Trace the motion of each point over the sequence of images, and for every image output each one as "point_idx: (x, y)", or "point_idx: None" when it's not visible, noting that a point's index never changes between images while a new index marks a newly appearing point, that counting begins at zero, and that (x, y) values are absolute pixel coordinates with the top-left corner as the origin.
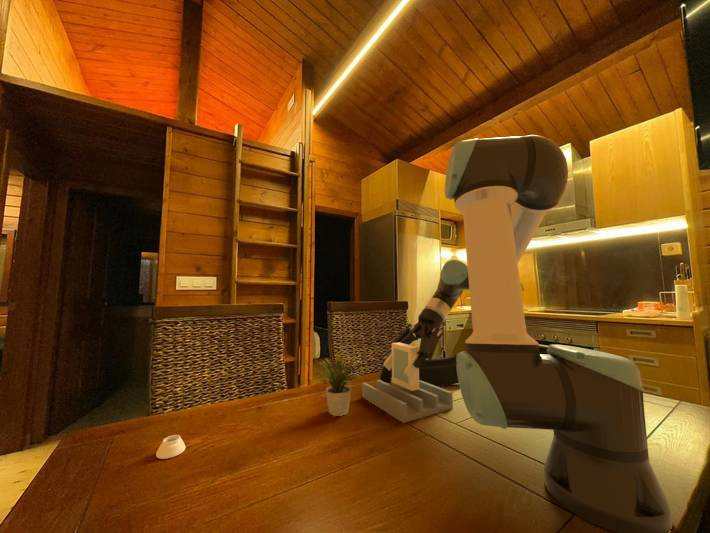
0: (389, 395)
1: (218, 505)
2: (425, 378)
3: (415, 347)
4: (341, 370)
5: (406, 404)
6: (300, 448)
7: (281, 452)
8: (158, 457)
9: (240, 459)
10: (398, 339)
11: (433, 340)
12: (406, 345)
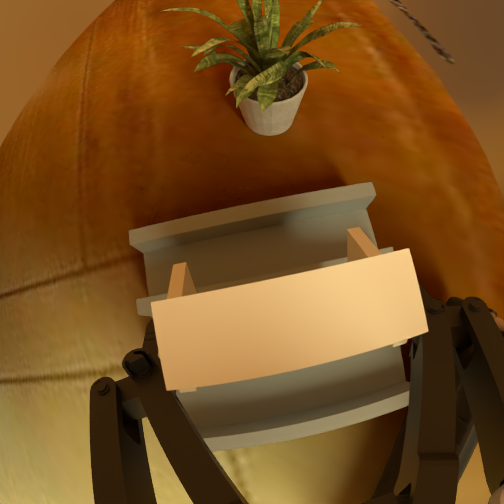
0: (213, 222)
1: (106, 21)
2: (398, 471)
3: (160, 356)
4: (229, 29)
5: (130, 243)
6: (155, 56)
7: (158, 40)
8: None
9: (168, 13)
10: (482, 350)
11: (100, 500)
12: (266, 328)
